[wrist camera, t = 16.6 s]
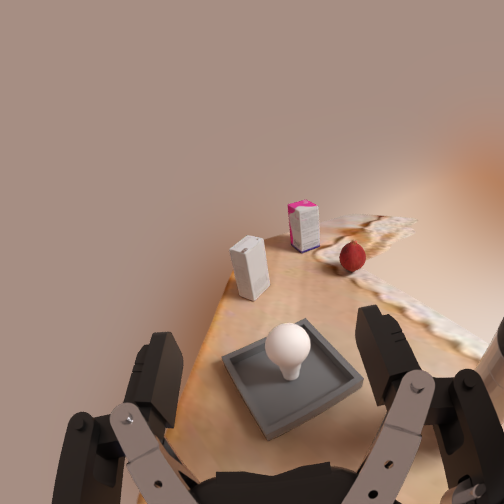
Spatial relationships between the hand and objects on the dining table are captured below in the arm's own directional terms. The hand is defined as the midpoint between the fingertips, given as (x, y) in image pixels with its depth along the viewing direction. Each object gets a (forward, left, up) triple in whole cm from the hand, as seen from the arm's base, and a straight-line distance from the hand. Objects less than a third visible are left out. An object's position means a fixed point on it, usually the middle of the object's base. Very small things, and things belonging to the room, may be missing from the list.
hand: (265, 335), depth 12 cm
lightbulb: (-8, -15, -30) cm, 34 cm away
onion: (-34, -31, -30) cm, 55 cm away
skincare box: (-13, -38, -30) cm, 50 cm away
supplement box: (-32, -47, -30) cm, 65 cm away
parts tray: (-8, -15, -30) cm, 35 cm away
